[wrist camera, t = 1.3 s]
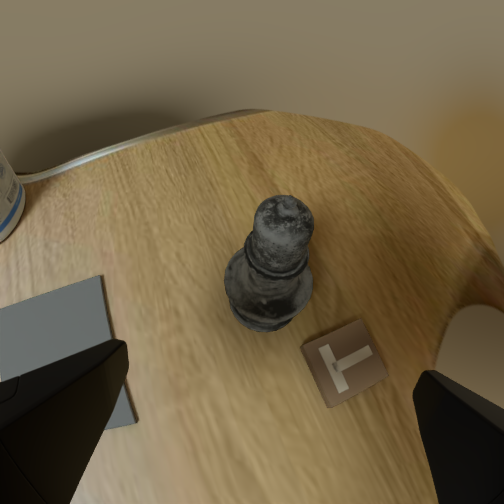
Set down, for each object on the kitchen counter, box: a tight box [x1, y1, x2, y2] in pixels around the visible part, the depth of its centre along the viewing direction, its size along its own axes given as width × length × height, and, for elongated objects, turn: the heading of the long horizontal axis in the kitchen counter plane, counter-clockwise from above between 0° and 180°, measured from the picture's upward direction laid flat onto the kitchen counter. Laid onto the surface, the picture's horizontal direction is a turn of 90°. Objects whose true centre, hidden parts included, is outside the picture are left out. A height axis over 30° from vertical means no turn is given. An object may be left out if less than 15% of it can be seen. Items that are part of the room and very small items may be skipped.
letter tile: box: [300, 318, 389, 408], centre depth 21 cm, size 5×5×2 cm
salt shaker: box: [224, 195, 314, 332], centre depth 18 cm, size 6×6×12 cm
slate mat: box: [0, 275, 137, 430], centre depth 19 cm, size 12×12×1 cm
